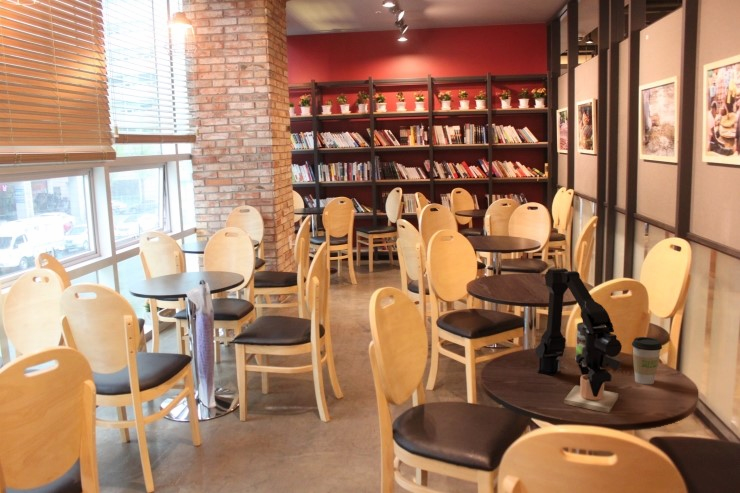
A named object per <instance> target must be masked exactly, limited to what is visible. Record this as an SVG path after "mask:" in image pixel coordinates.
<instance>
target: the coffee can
mask: <svg viewBox="0 0 740 493" xmlns="http://www.w3.org/2000/svg"><path fill="white" fill-rule="evenodd" d="M584 326H585V324H584V323H583V321H582V322H578V323H577V324H576V342H575V343H576V344H575V345H576V346H575V348H576V349H575V359H574V360H576V356H577V355H578V354H585V352H584V351H583V347H585V335H586V331H584V330H583V329H582V328H583V327H584ZM602 327H606V326H601V327H596V328H602Z"/></svg>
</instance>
